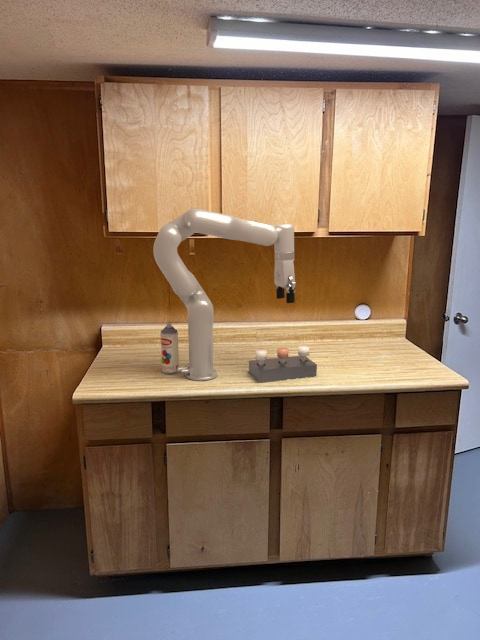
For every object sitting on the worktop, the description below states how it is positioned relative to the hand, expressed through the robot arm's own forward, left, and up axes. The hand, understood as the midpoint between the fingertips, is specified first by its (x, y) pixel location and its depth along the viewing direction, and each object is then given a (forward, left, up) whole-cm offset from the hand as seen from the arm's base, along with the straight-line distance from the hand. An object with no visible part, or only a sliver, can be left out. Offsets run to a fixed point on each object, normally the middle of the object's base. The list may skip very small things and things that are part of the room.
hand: (285, 300), depth 181 cm
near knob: (-11, -4, -27) cm, 29 cm away
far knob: (+7, -4, -27) cm, 28 cm away
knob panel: (-2, -4, -29) cm, 29 cm away
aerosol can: (-44, +12, -29) cm, 54 cm away
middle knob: (-2, -4, -27) cm, 27 cm away
